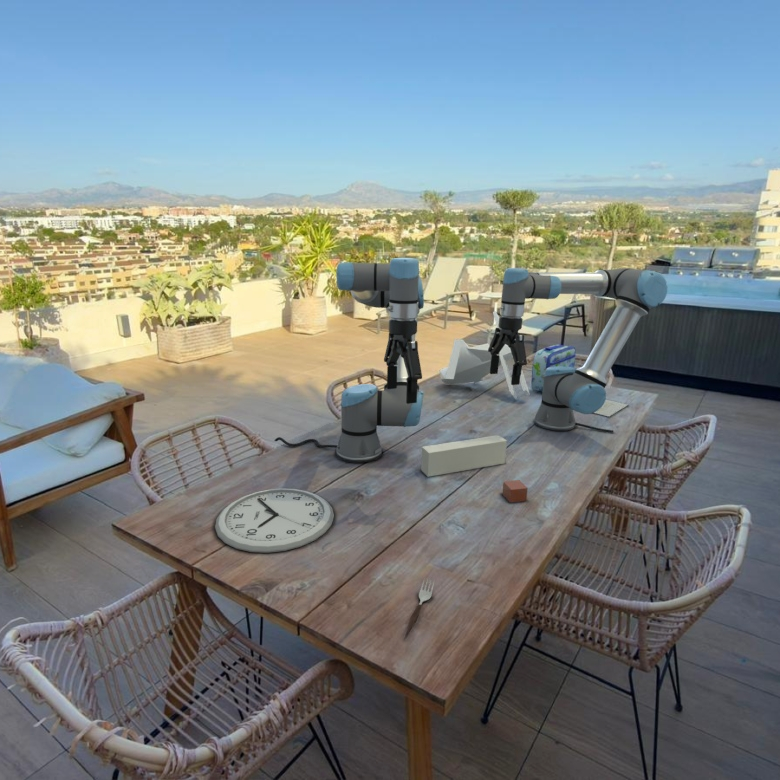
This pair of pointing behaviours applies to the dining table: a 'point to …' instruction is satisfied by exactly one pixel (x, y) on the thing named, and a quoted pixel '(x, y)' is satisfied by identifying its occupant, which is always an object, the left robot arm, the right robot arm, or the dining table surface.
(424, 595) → the fork
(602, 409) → the invitation card
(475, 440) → the beam
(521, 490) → the terracotta block
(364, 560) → the dining table surface
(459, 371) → the white plastic object
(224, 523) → the wall clock
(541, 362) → the lunch box
